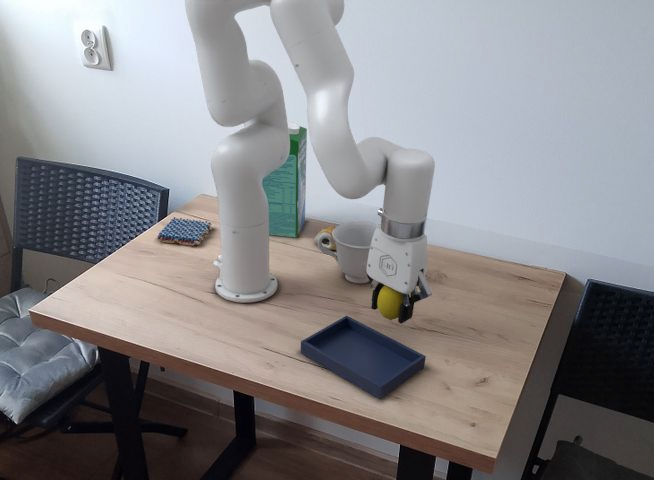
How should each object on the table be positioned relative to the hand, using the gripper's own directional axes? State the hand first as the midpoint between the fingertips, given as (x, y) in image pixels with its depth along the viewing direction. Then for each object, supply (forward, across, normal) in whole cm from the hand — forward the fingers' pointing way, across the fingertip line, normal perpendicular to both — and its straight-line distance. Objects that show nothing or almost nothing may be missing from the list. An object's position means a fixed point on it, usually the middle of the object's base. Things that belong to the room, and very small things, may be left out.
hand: (391, 312), depth 130 cm
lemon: (+2, 0, 0) cm, 2 cm away
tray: (+4, +3, -11) cm, 12 cm away
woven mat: (+6, -58, -3) cm, 58 cm away
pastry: (+5, -31, +19) cm, 37 cm away
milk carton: (+5, -45, +16) cm, 48 cm away
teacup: (+4, -18, +10) cm, 21 cm away
